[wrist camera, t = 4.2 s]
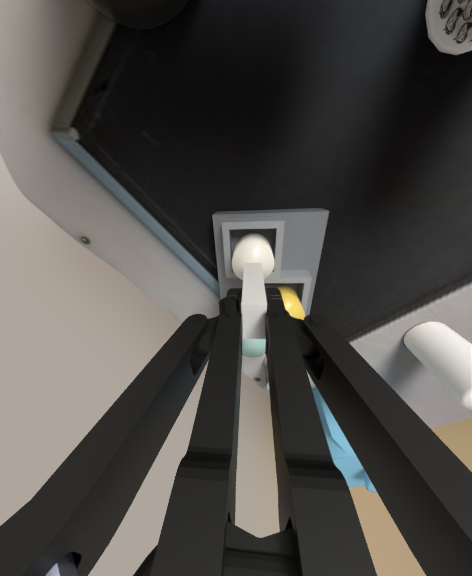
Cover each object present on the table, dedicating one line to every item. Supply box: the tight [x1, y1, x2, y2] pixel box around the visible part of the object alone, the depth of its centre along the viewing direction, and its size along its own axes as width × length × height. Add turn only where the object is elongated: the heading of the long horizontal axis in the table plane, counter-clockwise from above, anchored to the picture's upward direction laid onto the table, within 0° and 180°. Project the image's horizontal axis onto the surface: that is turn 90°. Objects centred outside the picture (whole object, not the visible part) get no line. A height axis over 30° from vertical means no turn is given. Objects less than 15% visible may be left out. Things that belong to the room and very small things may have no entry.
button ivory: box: [232, 233, 275, 280], centre depth 21 cm, size 4×4×4 cm
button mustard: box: [275, 286, 305, 320], centre depth 24 cm, size 4×4×4 cm
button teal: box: [242, 336, 266, 357], centre depth 29 cm, size 4×4×4 cm
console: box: [212, 208, 329, 317], centre depth 28 cm, size 22×14×6 cm, turn 2°
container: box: [312, 387, 377, 493], centre depth 38 cm, size 17×25×15 cm
